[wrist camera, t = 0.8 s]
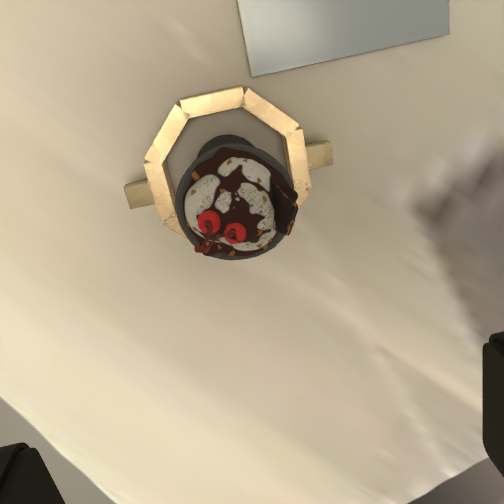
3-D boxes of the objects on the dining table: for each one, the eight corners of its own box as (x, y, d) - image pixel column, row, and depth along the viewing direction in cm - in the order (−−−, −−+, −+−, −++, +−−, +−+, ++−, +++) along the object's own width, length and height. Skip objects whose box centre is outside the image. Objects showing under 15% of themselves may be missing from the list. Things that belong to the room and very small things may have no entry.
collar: (312, 69, 32) (320, 69, 30) (332, 216, 37) (341, 226, 34) (108, 114, 32) (101, 117, 30) (153, 256, 36) (149, 269, 34)
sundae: (166, 177, 34) (138, 253, 20) (219, 103, 33) (228, 131, 19) (235, 226, 36) (253, 326, 22) (289, 159, 35) (343, 221, 21)
